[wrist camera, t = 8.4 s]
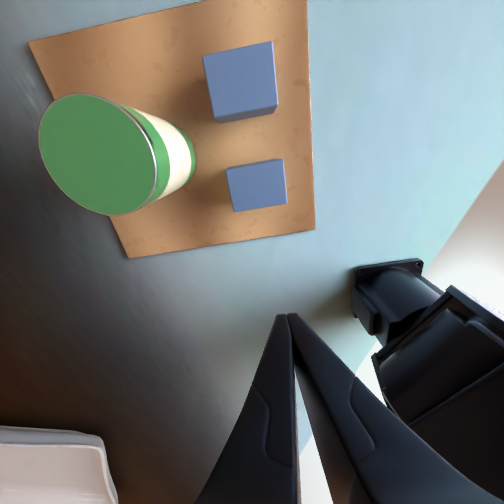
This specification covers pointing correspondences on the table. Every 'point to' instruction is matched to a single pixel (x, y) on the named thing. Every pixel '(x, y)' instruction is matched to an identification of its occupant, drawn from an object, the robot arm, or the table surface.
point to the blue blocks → (243, 107)
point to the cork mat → (199, 112)
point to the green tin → (113, 154)
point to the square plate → (53, 467)
